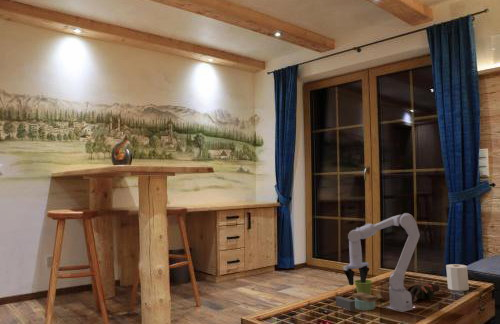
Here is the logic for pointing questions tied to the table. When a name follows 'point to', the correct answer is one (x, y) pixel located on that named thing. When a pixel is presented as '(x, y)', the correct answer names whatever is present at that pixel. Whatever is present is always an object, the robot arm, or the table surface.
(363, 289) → the plant pot
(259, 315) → the table surface
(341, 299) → the grey rectangular block
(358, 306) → the bowl
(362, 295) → the walnut board
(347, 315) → the table surface
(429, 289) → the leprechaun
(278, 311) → the table surface
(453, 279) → the toilet paper
